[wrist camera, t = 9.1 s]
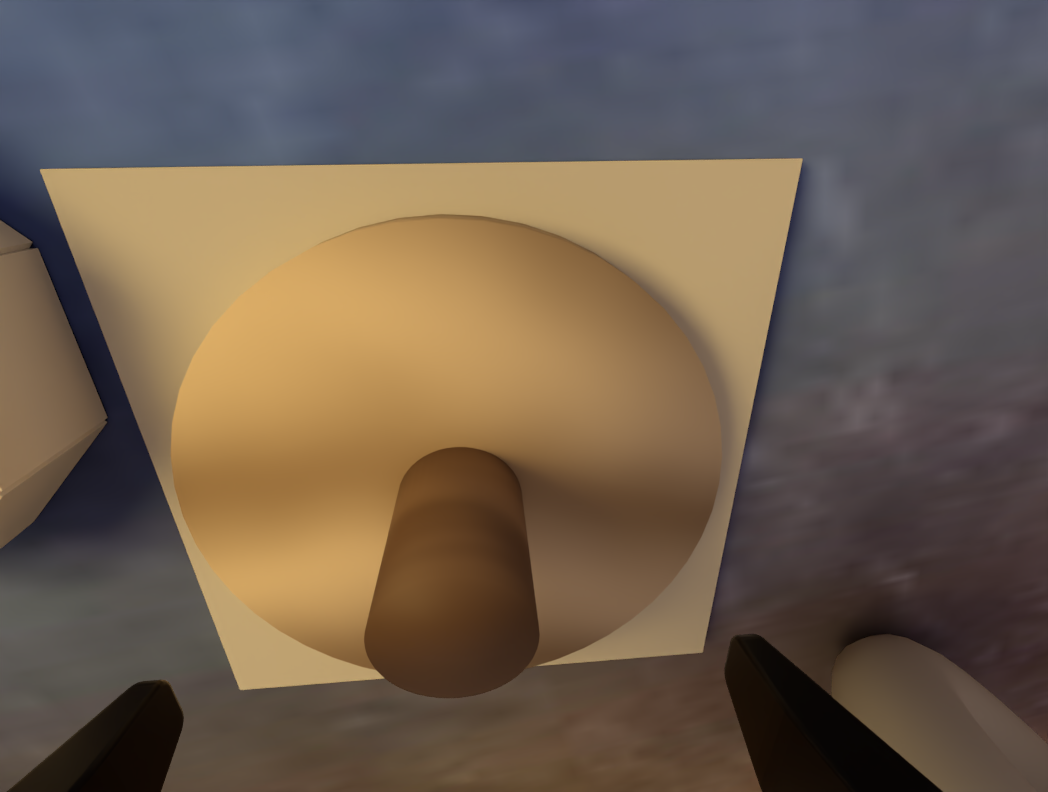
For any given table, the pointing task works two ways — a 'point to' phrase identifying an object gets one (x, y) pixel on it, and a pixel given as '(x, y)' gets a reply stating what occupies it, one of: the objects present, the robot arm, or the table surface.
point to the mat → (417, 190)
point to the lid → (446, 450)
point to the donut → (938, 717)
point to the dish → (37, 388)
